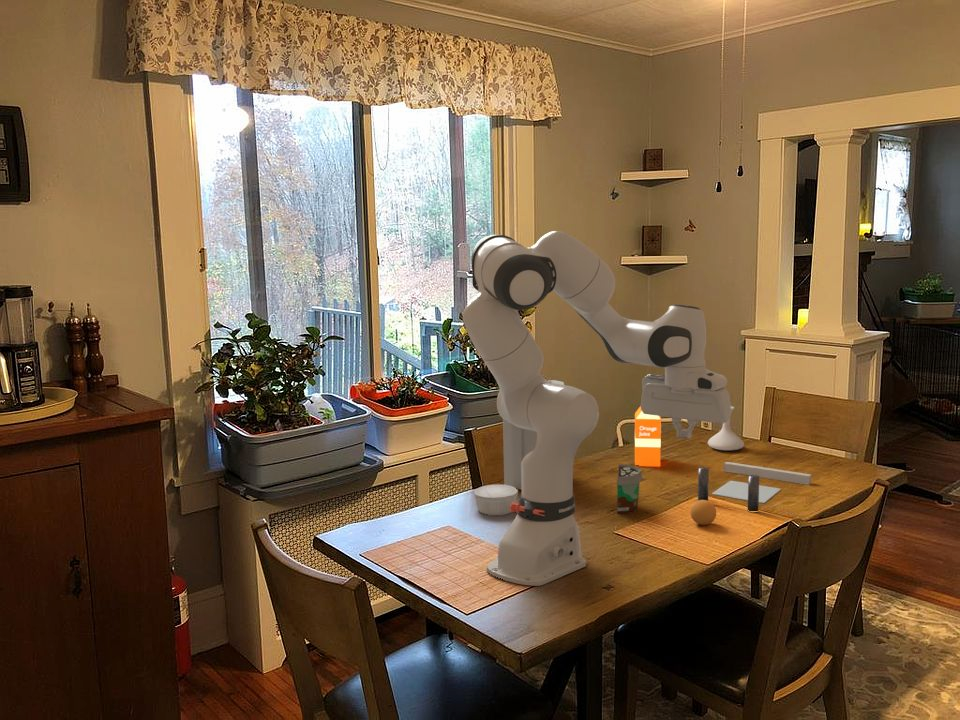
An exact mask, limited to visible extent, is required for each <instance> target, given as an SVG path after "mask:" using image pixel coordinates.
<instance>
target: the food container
mask: <svg viewBox="0 0 960 720" xmlns="http://www.w3.org/2000/svg"><path fill="white" fill-rule="evenodd" d="M616 477H617V478H616V483H617V484H616V487H617V490H616V492H617V493H616V494H617V495H616V497H617V498H616V501H617V502H616V507H617V509H616V512H617V514H618V515H624V514H631V513H634V512H636V511H638V508H639V507H638V505H639V496H640V495H639V493H640V482H642V481H643V476H642V472H641V469H640V468H638V466H635V465H634V466H633V465H630V464H629V465H628V464H623V463H622V464H621V463H619V464H618V474H617V476H616Z"/></svg>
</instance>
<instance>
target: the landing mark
mask: <svg viewBox="0 0 960 720" xmlns="http://www.w3.org/2000/svg"><path fill="white" fill-rule="evenodd" d="M781 490H782V489H781V488H778V487H772V486H767V485H761V484H759V504H765V503H767V502H768V501H769V500H770V499H772V497H774V496H775V495H776V494H778V493H779V492H780V491H781ZM711 495H715V496H719V497H727V498H732V499H736V500H743V501H746V502H748V482H743V481H737V480H729V481H727V482H726V483H725V484H723V485H722V486H720V487H718V489H716V490H715V491H713V492H712V493H711Z"/></svg>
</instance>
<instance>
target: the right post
mask: <svg viewBox="0 0 960 720" xmlns="http://www.w3.org/2000/svg"><path fill="white" fill-rule="evenodd" d="M747 476H748V477H747V478H748V479H747V481H748V482H747V483H748V501H747V511H748V510H749V511H758V512H759V508H760V507H759V506H760V505H759V504H760V503H759V485H760V477H759V476H758V475H747ZM749 511H748V512H749Z"/></svg>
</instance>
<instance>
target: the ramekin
mask: <svg viewBox="0 0 960 720" xmlns="http://www.w3.org/2000/svg"><path fill="white" fill-rule="evenodd" d="M473 494H474V497H475V501H476V507H477V510H478V511H479V512H480V513H481V512H482V513H481V514H483V513H484V514H483V515H486V514H488V515H487V516H492V515H498V516H505V514H506V515H509V514H511V513H512V512H511V510H510V505H511V503H512V502H515V503H517V499H518V495H519V489H516V488H515V487H512V486H509V485H504V484H487V485H482V486H480V487H478V488H476V489H475V490H474V491H473Z"/></svg>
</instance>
